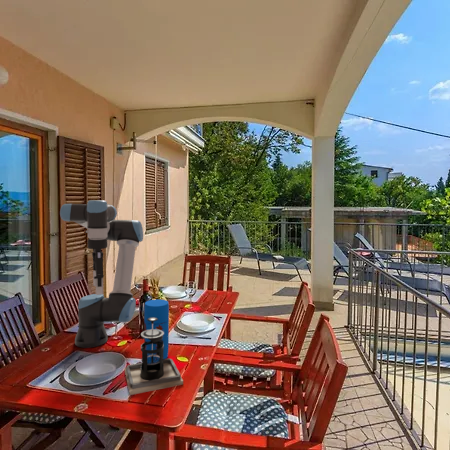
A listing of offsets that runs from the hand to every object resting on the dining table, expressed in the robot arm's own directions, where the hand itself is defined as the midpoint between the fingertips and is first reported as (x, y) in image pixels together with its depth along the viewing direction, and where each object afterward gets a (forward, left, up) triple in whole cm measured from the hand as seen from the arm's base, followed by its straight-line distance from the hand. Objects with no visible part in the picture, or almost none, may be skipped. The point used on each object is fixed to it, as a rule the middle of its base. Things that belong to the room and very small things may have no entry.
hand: (98, 289), depth 137 cm
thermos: (-4, +25, -34) cm, 43 cm away
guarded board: (+14, +20, -34) cm, 42 cm away
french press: (+14, +20, -33) cm, 41 cm away
